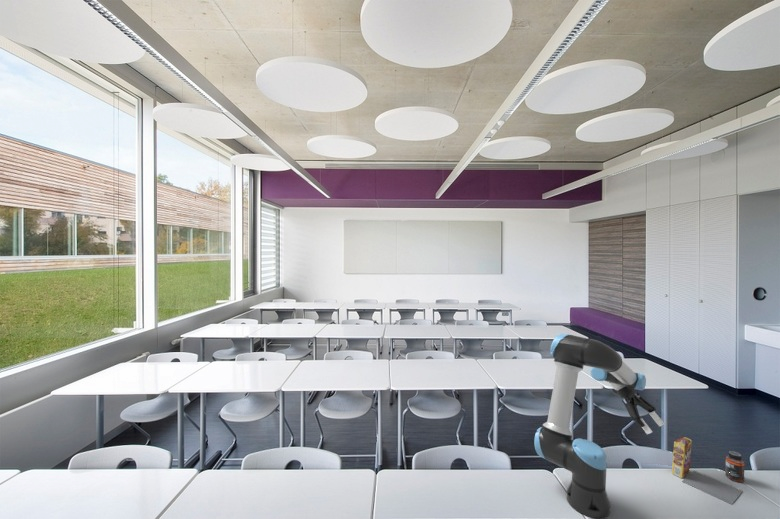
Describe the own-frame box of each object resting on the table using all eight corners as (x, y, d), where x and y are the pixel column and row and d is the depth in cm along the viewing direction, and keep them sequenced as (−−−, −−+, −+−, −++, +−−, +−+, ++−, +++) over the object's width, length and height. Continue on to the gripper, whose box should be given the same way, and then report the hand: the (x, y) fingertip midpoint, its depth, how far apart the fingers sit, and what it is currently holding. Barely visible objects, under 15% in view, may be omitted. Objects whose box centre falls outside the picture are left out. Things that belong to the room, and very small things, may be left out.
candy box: (683, 479, 154) (684, 445, 153) (671, 474, 157) (672, 440, 157) (690, 472, 159) (691, 439, 158) (678, 467, 162) (680, 435, 162)
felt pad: (681, 481, 152) (681, 481, 152) (693, 471, 160) (693, 470, 160) (731, 504, 139) (731, 503, 139) (742, 491, 146) (742, 491, 146)
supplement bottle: (741, 477, 156) (742, 452, 155) (745, 484, 151) (747, 459, 150) (723, 472, 159) (724, 448, 159) (727, 479, 154) (728, 454, 153)
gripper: (628, 385, 187) (660, 425, 175) (604, 396, 174) (637, 439, 162) (639, 379, 183) (673, 419, 171) (616, 389, 169) (651, 433, 157)
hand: (656, 429), depth 166 cm, fingers open, 13 cm apart
